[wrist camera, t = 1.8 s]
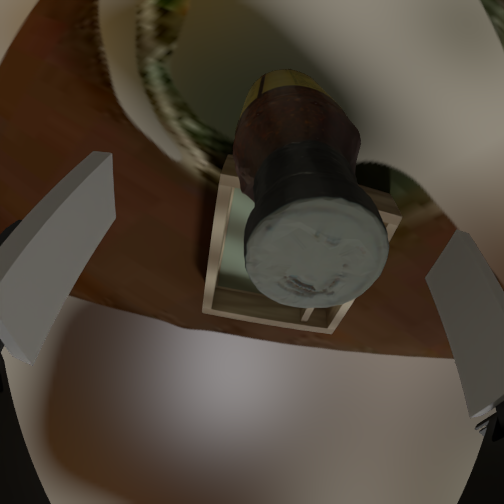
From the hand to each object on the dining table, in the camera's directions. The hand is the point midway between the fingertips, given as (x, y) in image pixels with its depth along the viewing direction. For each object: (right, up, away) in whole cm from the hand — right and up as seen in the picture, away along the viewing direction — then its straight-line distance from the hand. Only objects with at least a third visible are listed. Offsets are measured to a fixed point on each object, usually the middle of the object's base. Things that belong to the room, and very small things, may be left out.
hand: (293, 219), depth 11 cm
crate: (+3, -1, +23) cm, 23 cm away
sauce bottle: (+1, +11, +13) cm, 17 cm away
